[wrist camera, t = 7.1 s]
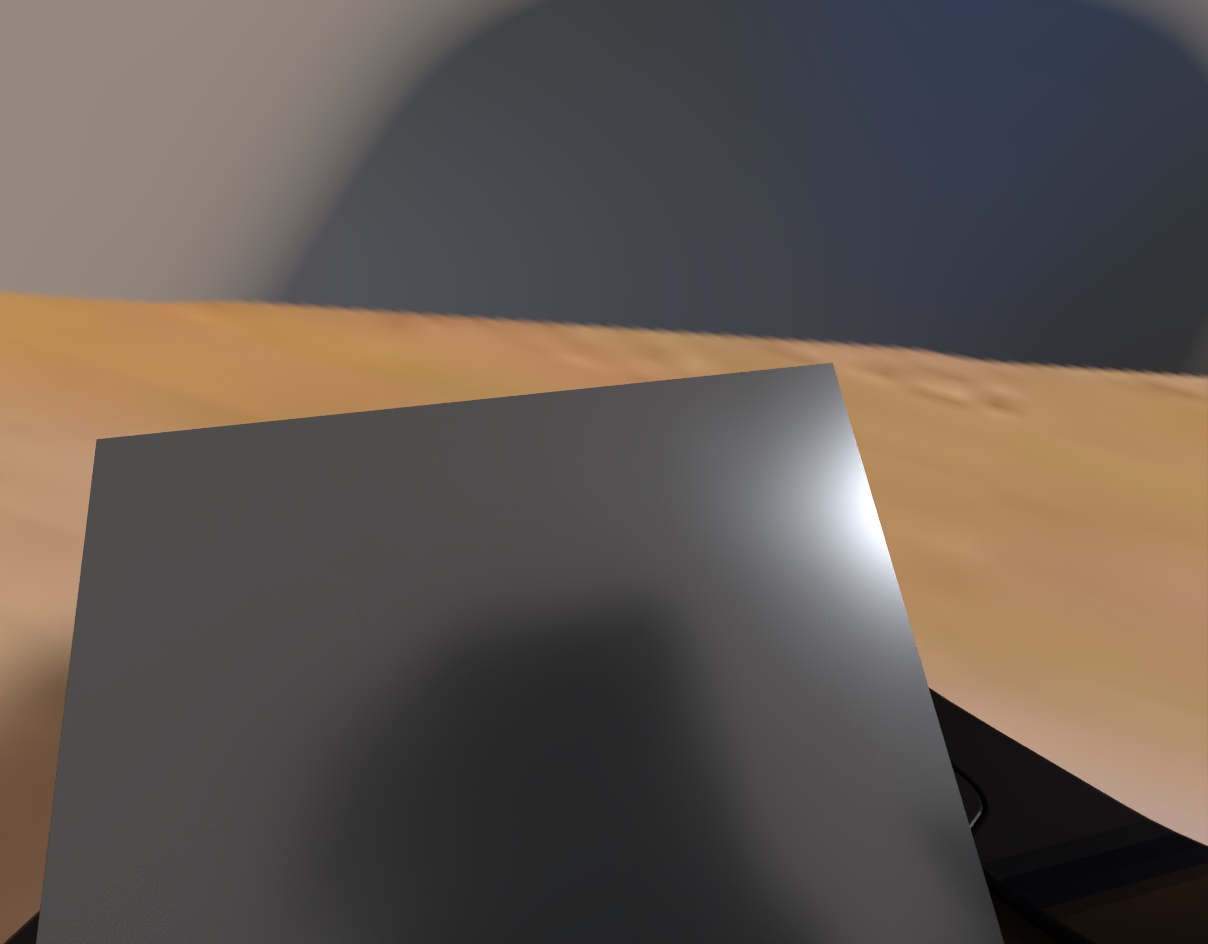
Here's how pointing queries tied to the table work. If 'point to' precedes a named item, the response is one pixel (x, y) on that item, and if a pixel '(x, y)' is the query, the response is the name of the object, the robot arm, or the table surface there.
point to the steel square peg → (504, 683)
